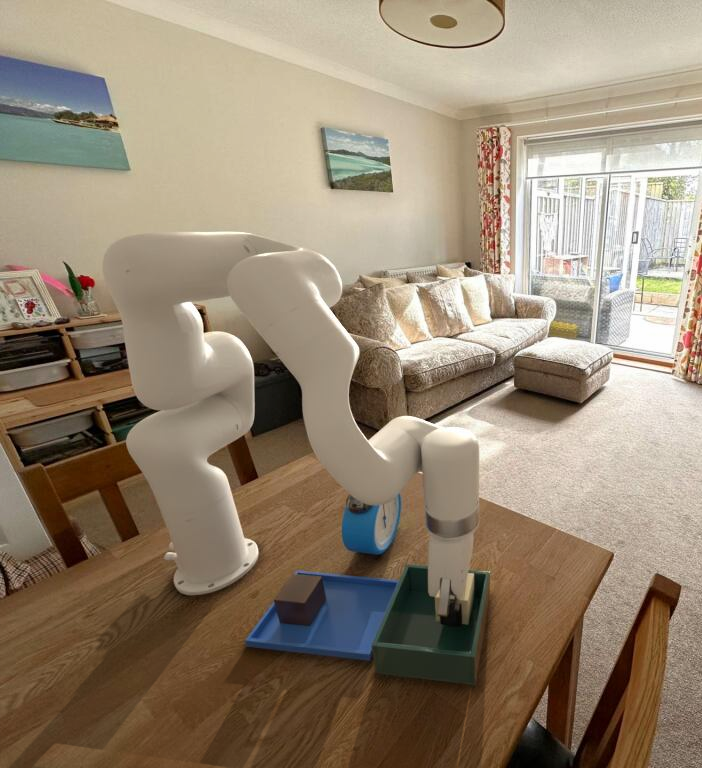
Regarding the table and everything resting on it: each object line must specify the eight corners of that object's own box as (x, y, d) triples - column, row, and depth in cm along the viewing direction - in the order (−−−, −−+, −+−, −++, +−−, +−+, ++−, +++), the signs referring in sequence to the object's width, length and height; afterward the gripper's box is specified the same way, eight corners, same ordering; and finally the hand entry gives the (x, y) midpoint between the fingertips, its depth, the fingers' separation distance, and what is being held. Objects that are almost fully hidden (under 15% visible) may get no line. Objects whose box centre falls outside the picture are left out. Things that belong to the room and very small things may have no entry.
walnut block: (279, 623, 63) (273, 599, 61) (298, 595, 68) (292, 573, 66) (309, 626, 63) (304, 603, 61) (326, 598, 67) (322, 576, 66)
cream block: (435, 621, 61) (434, 597, 59) (444, 593, 66) (443, 570, 64) (468, 624, 61) (468, 600, 59) (474, 596, 65) (474, 573, 64)
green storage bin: (375, 675, 57) (371, 645, 54) (408, 590, 70) (406, 563, 68) (475, 686, 56) (474, 657, 53) (489, 598, 69) (490, 571, 67)
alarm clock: (376, 571, 73) (367, 504, 68) (344, 567, 74) (333, 500, 69) (404, 522, 85) (398, 462, 80) (377, 519, 86) (369, 459, 81)
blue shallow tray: (247, 648, 60) (244, 640, 59) (298, 577, 72) (296, 570, 71) (370, 662, 58) (369, 654, 58) (401, 587, 70) (401, 580, 70)
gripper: (441, 476, 65) (445, 562, 71) (405, 557, 49) (415, 658, 56) (488, 479, 64) (487, 566, 71) (467, 563, 48) (468, 664, 55)
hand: (455, 606), depth 63 cm, fingers closed on cream block, 5 cm apart
